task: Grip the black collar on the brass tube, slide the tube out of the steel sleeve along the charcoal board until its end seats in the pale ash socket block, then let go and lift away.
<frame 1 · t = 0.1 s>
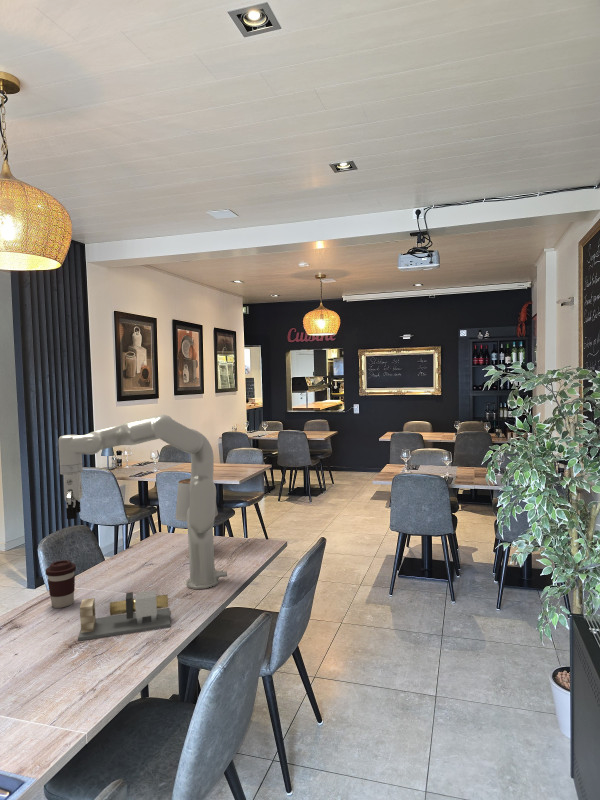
hand: (73, 515, 195), 31 cm above the table, tool pointing down, fingers open, 9 cm apart
sleeve: (147, 621, 175), resting on board
board: (126, 624, 174), on the table
coffee cup: (62, 604, 193), on the table
lamp: (198, 555, 242), on the table
socket: (88, 630, 171), resting on board
tube: (139, 603, 174), point 6 cm above the table, slide at 0.0 cm
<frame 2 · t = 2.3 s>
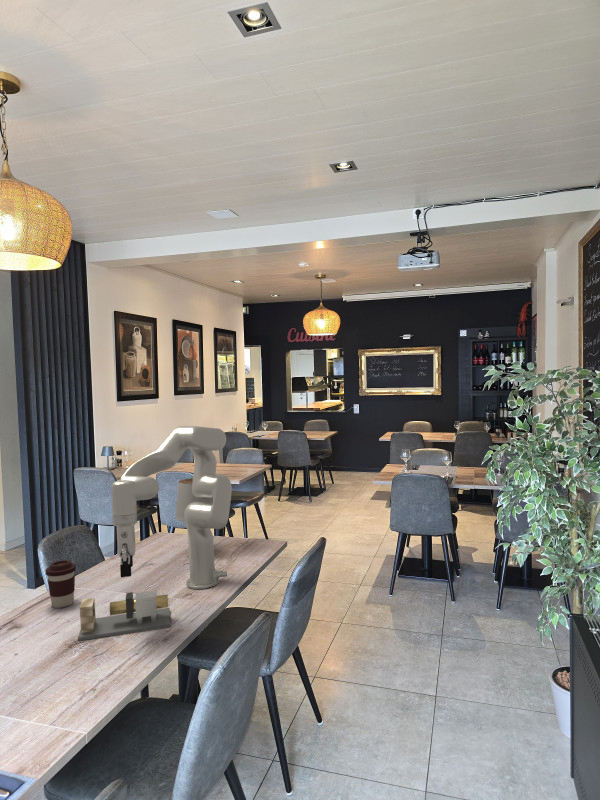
hand: (126, 571, 173), 17 cm above the table, tool pointing down, fingers open, 9 cm apart
nothing on the table moved.
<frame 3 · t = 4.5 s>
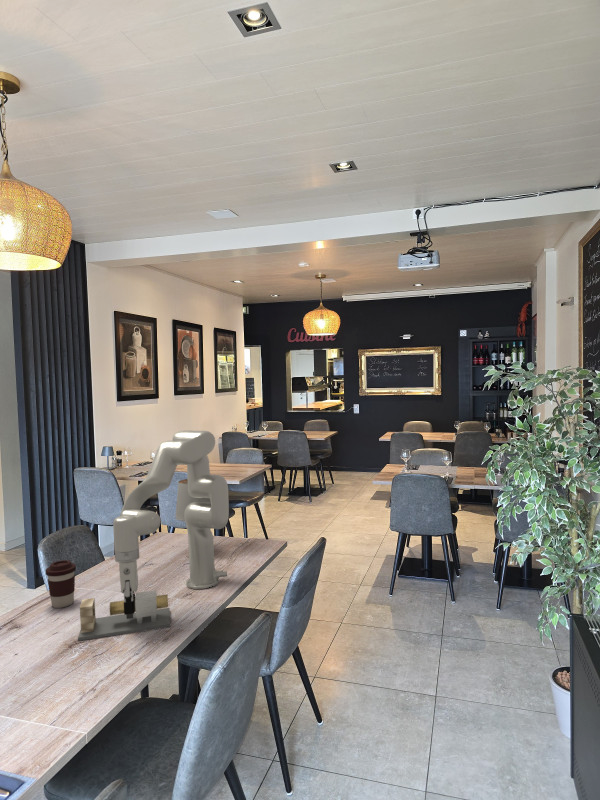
hand: (130, 609, 174), 5 cm above the table, tool pointing down, fingers closed on tube, 5 cm apart
tube: (139, 603, 174), point 6 cm above the table, slide at 0.0 cm, touching gripper
everything else where it was.
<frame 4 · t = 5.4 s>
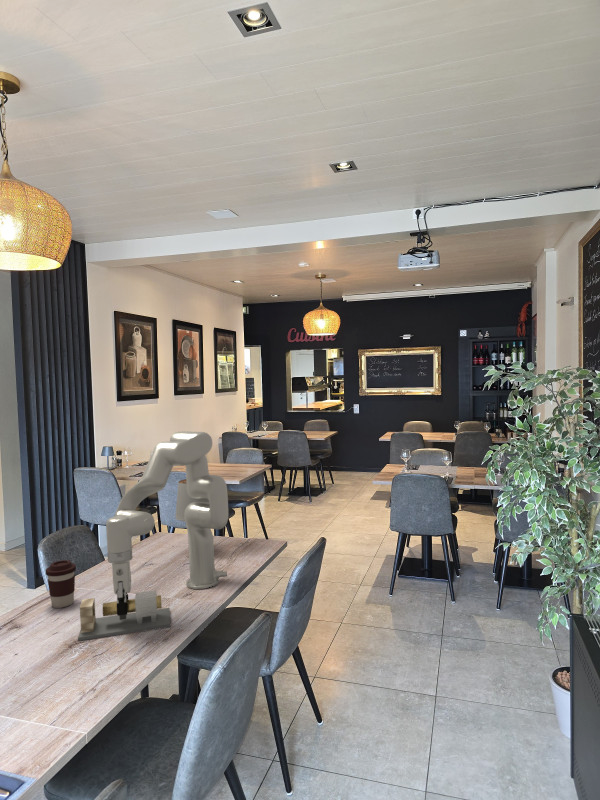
hand: (123, 610, 173), 5 cm above the table, tool pointing down, fingers closed on tube, 5 cm apart
tube: (132, 604, 174), point 6 cm above the table, slide at 2.1 cm, touching gripper
everything else where it was.
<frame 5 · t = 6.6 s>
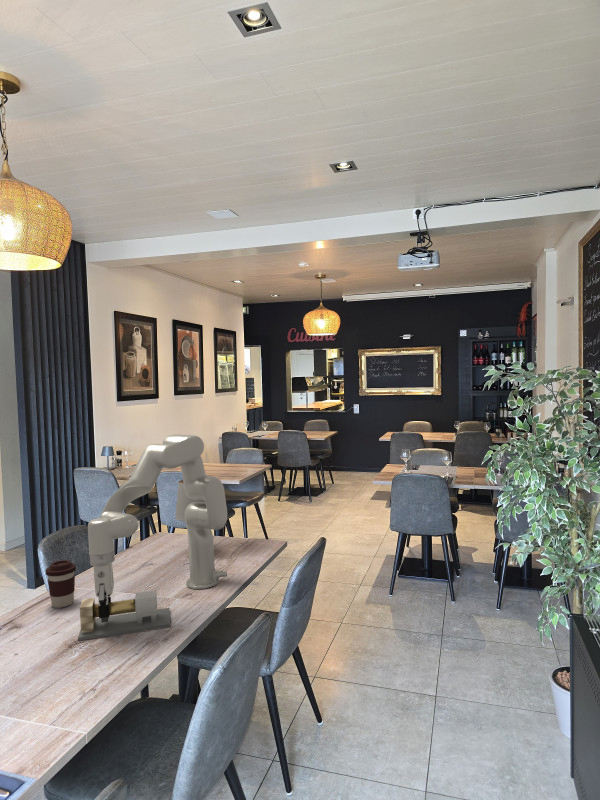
hand: (105, 612, 172), 5 cm above the table, tool pointing down, fingers closed on tube, 5 cm apart
tube: (114, 607, 173), point 6 cm above the table, slide at 7.6 cm, touching gripper
everything else where it was.
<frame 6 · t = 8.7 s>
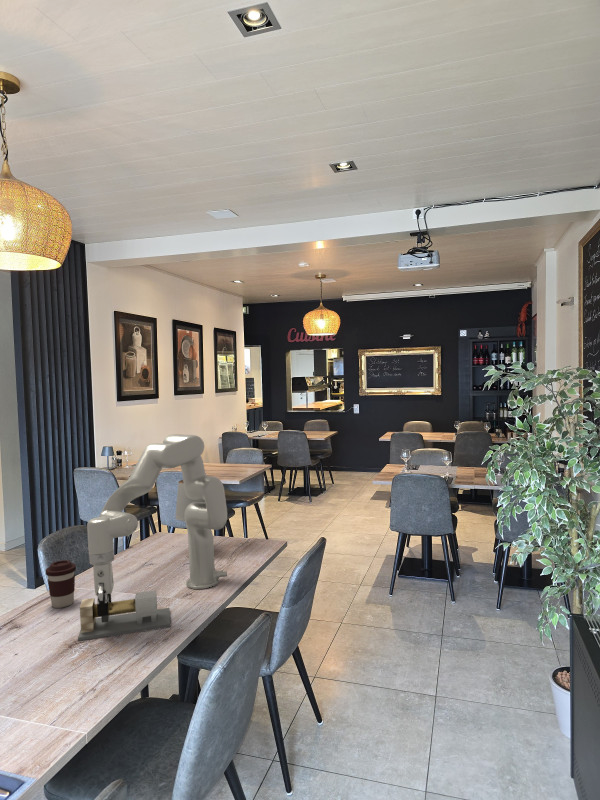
hand: (104, 609, 172), 6 cm above the table, tool pointing down, fingers open, 9 cm apart
tube: (115, 607, 173), point 6 cm above the table, slide at 7.5 cm
everything else where it was.
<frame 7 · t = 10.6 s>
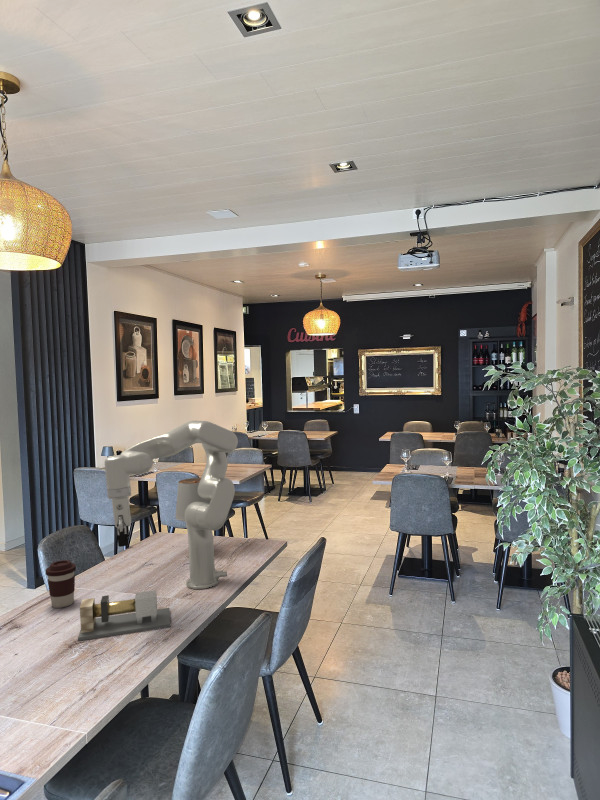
hand: (124, 541, 183), 24 cm above the table, tool pointing down, fingers open, 9 cm apart
nothing on the table moved.
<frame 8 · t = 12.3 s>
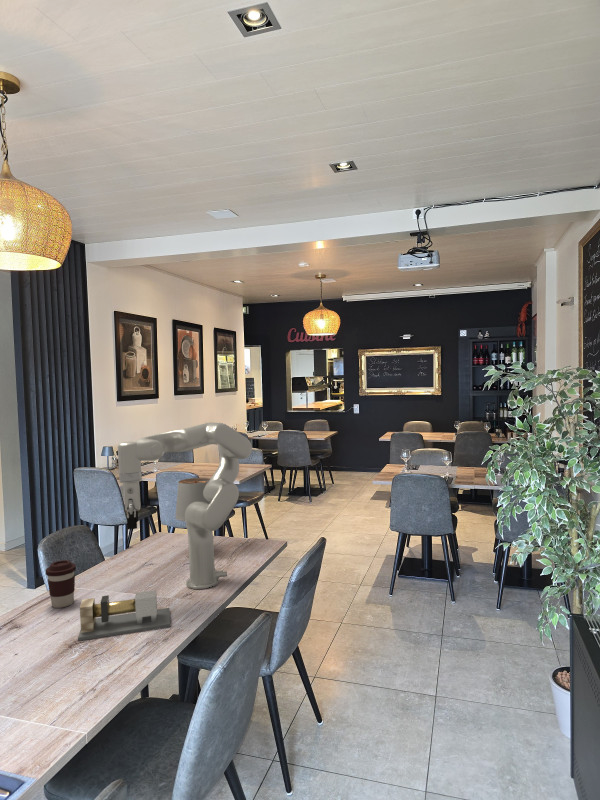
hand: (133, 525, 189), 28 cm above the table, tool pointing down, fingers open, 9 cm apart
nothing on the table moved.
at the end: tube slide at 7.5 cm; the gripper is holding nothing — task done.
